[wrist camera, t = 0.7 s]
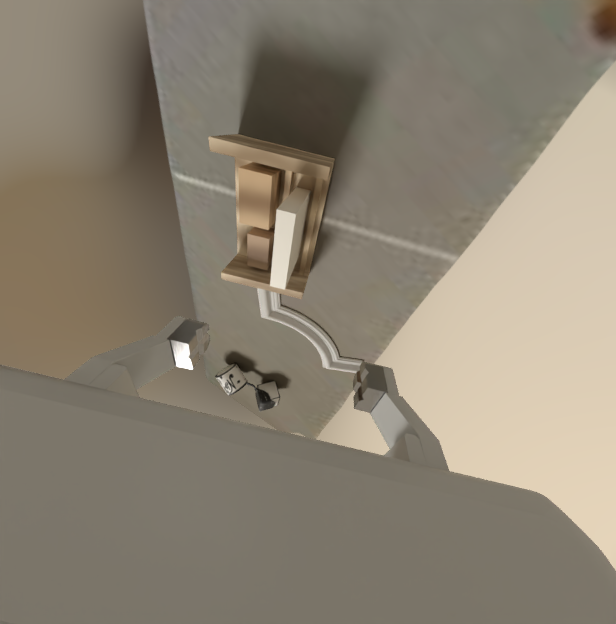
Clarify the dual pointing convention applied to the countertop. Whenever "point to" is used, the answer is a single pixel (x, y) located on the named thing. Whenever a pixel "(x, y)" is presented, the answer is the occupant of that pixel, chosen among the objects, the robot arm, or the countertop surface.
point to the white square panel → (288, 236)
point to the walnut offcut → (260, 247)
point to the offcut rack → (295, 173)
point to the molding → (305, 331)
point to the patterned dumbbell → (236, 380)
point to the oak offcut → (258, 194)
